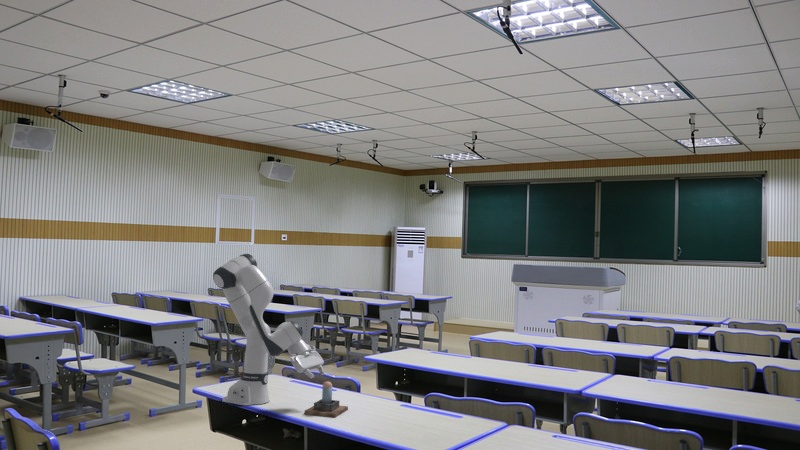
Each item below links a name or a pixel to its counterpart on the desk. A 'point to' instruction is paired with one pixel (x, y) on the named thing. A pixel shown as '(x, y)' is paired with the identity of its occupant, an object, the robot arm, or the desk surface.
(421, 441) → the desk surface
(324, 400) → the peach-tipped grey cylinder
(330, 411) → the jig
